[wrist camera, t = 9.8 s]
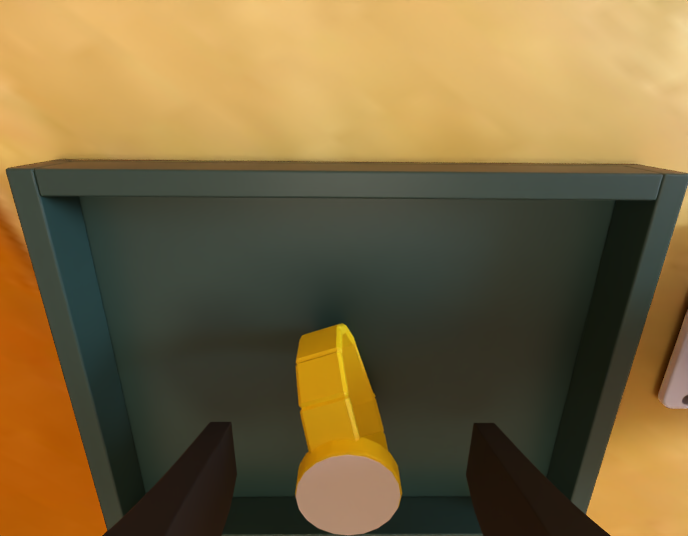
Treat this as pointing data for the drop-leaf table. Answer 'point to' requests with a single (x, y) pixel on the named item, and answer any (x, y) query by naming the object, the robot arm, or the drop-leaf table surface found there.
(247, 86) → the drop-leaf table surface
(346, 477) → the watch
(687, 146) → the drop-leaf table surface
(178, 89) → the drop-leaf table surface
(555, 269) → the tray
